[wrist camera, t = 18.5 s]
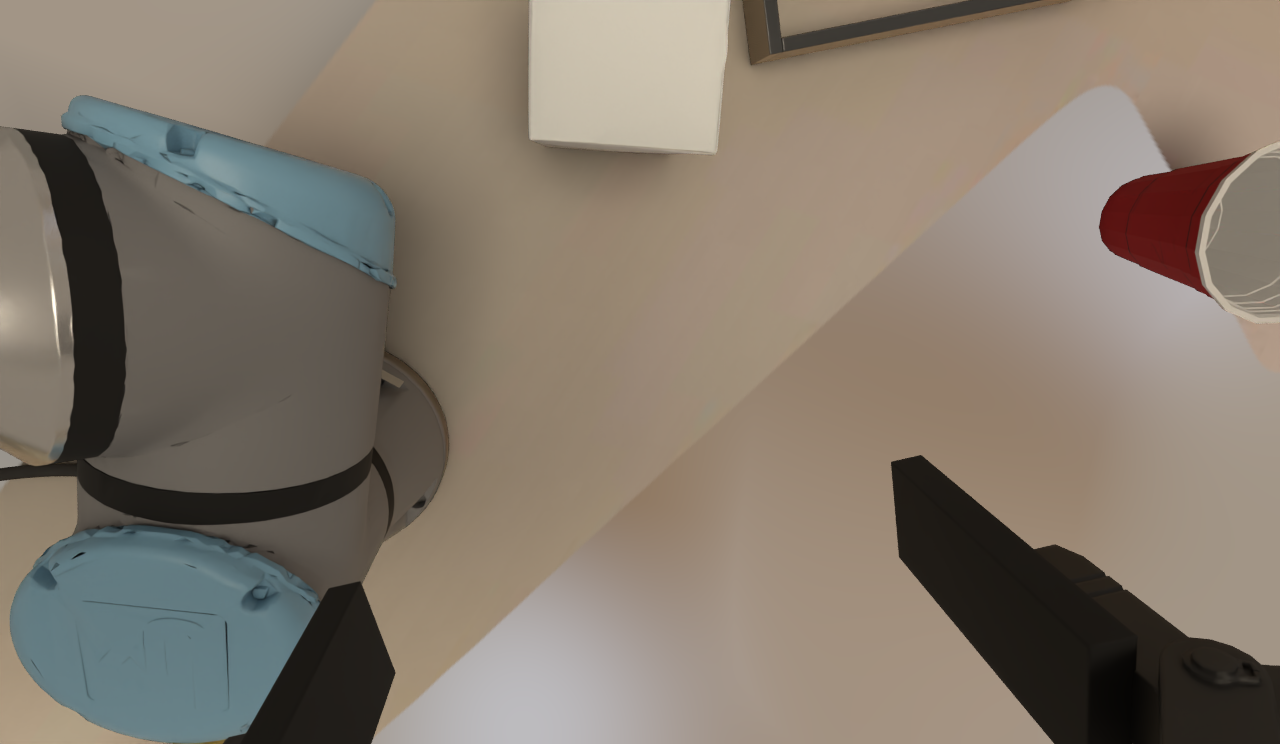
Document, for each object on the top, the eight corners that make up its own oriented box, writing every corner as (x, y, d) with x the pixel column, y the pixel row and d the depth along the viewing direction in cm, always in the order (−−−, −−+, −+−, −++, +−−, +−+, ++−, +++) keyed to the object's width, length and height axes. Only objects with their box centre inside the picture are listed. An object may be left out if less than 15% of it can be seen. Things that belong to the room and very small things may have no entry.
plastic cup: (1133, 107, 47) (1313, 89, 36) (1232, 191, 50) (1428, 199, 38) (1033, 241, 49) (1172, 264, 38) (1132, 315, 52) (1290, 358, 40)
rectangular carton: (541, -7, 41) (526, -95, 27) (685, 7, 42) (742, -71, 28) (538, 148, 44) (523, 142, 30) (673, 158, 45) (721, 156, 31)
